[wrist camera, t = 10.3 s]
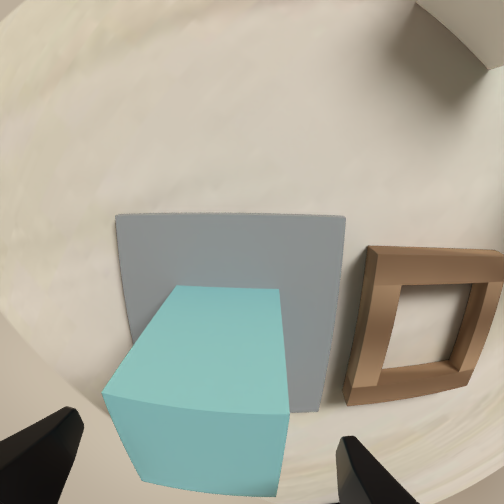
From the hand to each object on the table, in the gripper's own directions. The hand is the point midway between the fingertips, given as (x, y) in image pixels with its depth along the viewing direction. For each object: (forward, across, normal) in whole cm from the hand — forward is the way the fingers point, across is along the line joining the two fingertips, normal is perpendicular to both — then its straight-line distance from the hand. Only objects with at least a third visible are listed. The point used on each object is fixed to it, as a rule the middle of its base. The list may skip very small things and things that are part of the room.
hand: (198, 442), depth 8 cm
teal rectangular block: (+7, 0, 0) cm, 7 cm away
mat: (+8, 0, 0) cm, 8 cm away
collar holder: (+8, -12, 0) cm, 14 cm away
